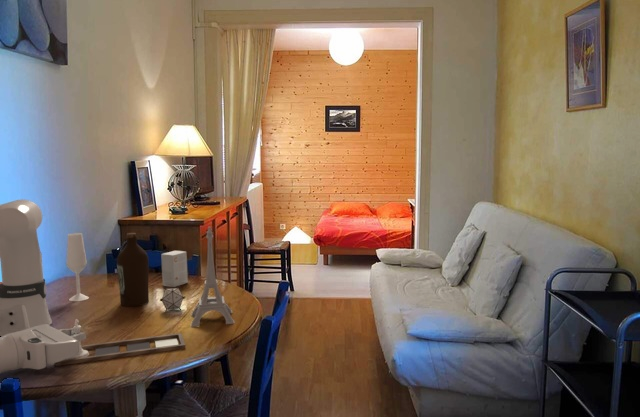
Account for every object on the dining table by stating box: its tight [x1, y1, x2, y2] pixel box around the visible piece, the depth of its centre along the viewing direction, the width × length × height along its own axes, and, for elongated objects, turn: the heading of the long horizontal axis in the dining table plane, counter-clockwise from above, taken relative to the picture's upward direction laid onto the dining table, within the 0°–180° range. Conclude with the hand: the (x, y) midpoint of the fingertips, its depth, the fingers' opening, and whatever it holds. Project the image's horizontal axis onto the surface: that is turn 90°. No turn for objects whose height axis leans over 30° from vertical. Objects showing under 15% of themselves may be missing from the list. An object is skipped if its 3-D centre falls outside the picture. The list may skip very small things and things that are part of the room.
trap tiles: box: [94, 342, 151, 356], centre depth 143 cm, size 14×7×1 cm, turn 111°
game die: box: [159, 285, 186, 313], centre depth 178 cm, size 9×8×10 cm
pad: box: [154, 338, 179, 348], centre depth 147 cm, size 6×7×1 cm
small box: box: [160, 250, 189, 288], centre depth 212 cm, size 8×6×13 cm
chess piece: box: [69, 318, 90, 359], centre depth 139 cm, size 5×5×10 cm
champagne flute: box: [66, 232, 90, 302], centre depth 191 cm, size 7×7×24 cm
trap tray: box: [54, 332, 186, 367], centre depth 143 cm, size 32×10×1 cm, turn 111°
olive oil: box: [116, 232, 150, 307], centre depth 186 cm, size 11×11×25 cm
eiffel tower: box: [190, 226, 235, 328], centre depth 168 cm, size 13×13×30 cm
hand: (80, 333), depth 139 cm, fingers open, 3 cm apart
